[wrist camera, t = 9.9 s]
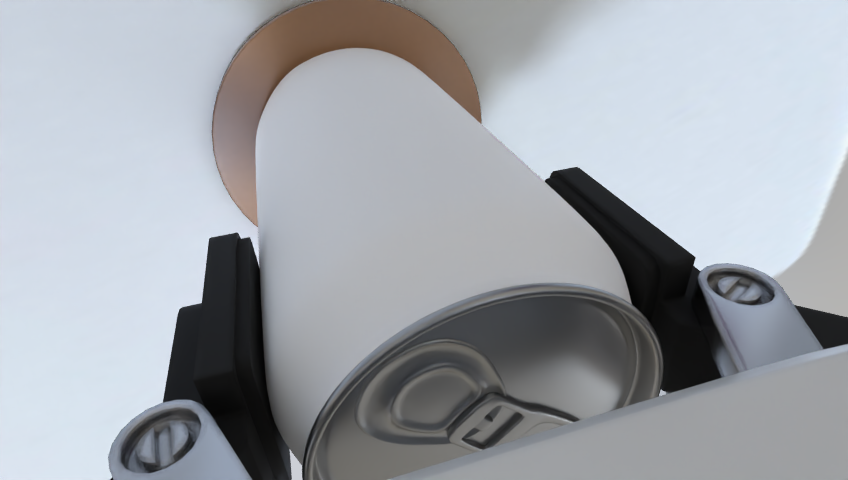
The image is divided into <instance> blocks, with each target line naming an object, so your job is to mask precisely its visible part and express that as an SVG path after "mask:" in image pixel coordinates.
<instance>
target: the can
mask: <svg viewBox="0 0 848 480" xmlns="http://www.w3.org/2000/svg"><path fill="white" fill-rule="evenodd" d="M255 155H256V191H257V217H258V242H259V266H260V288H261V309H262V329H263V347H264V362H265V374H266V385H267V392H268V397H269V403H270V408H271V412H272V415H273V418H274V421H275V424H276V426H277V428H278V430H279V432H280V434H281V436H282V438H283V439H284V441H285V443H286V444H287V446H288V447H289V449H290V450H291V451H292V453H293V454H294V456H295V457H296V458H297V459H298V461H299V462H300V463H301V465H302V478H303V480H387V479H391V478H394V477H397V476H400V475H403V474H407V473H410V472H413V471H416V470H420V469H423V468H426V467H429V466H432V465H436V464H439V463H442V462H445V461H449V460H452V459H455V458H458V457H462V456H465V455H468V454H471V453H474V452H478V451H481V450H484V449H487V448H491V447H494V446H497V445H500V444H504V443H507V442H510V441H514V440H517V439H520V438H523V437H527V436H530V435H533V434H537V433H540V432H543V431H546V430H550V429H553V428H556V427H560V426H563V425H566V424H569V423H573V422H576V421H579V420H583V419H586V418H589V417H593V416H596V415H599V414H602V413H606V412H609V411H612V410H616V409H619V408H622V407H626V406H629V405H632V404H636V403H639V402H642V401H646V400H649V399H652V398H656V397H659V393H660V390H661V386H662V380H663V372H664V360H663V352H662V348H661V344H660V341H659V338H658V336H657V334H656V332H655V330H654V328H653V326H652V325H651V323H650V322H649V321H648V319H647V318H646V317H645V316H644V315H643V314H642V313H641V312H640V311H639V310H638V309H637V308H635V307H634V306H633V305H632V303H631V299H630V294H629V290H628V287H627V284H626V280H625V277H624V274H623V272H622V269H621V267H620V265H619V262H618V260H617V258H616V257H615V255H614V253H613V252H612V250H611V249H610V247H609V246H608V245H607V244H606V242H605V241H604V240H603V239H602V237H601V236H600V235H599V234H598V233H597V231H596V230H595V229H594V228H593V227H592V226H591V225H590V224H589V223H588V222H587V221H586V220H585V219H584V218H583V217H582V216H581V215H580V214H579V213H578V212H577V211H576V210H575V209H573V208H572V207H571V206H570V205H569V204H568V203H567V202H566V201H565V200H564V199H563V198H562V197H561V196H560V195H558V194H557V193H556V192H555V191H554V190H553V189H552V188H551V187H550V186H549V185H548V184H547V183H546V182H544V181H543V180H542V179H541V178H540V177H539V176H538V175H537V174H536V173H535V172H533V171H532V170H531V169H530V168H529V167H528V166H527V165H526V164H525V163H524V162H523V161H521V160H520V159H519V158H518V157H517V156H516V155H515V154H514V153H513V152H512V151H510V150H509V149H508V148H507V147H506V146H505V145H504V144H503V143H502V142H501V141H499V140H498V139H497V138H496V137H495V136H494V135H493V134H492V133H491V132H489V131H488V130H487V129H486V128H485V127H484V126H483V125H482V124H481V123H480V122H478V121H477V120H476V119H475V118H474V117H473V116H472V115H471V114H469V113H468V112H467V111H466V110H465V109H464V108H463V107H462V106H461V105H459V104H458V103H457V102H456V101H455V100H454V99H453V98H452V97H450V96H449V95H448V94H447V93H446V92H445V91H444V90H443V89H441V88H440V87H439V86H438V85H437V84H436V83H435V82H433V81H432V80H431V79H430V78H429V77H428V76H427V75H425V74H424V73H423V72H422V71H420V70H419V69H418V68H416V67H415V66H414V65H412V64H411V63H409V62H407V61H406V60H404V59H402V58H400V57H398V56H395V55H393V54H390V53H387V52H384V51H380V50H375V49H368V48H346V49H339V50H334V51H330V52H327V53H324V54H321V55H318V56H316V57H314V58H311V59H309V60H307V61H305V62H303V63H302V64H300V65H298V66H297V67H295V68H294V69H293V70H291V71H290V72H289V73H288V74H287V75H286V76H285V77H284V78H283V79H282V80H281V82H280V83H279V84H278V85H277V87H276V88H275V90H274V91H273V93H272V94H271V96H270V98H269V100H268V102H267V104H266V106H265V108H264V110H263V113H262V115H261V118H260V121H259V125H258V129H257V135H256V151H255Z"/></svg>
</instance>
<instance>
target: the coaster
mask: <svg viewBox="0 0 848 480" xmlns="http://www.w3.org/2000/svg"><path fill="white" fill-rule="evenodd" d="M346 48H368V49H375V50H380V51H384V52H387V53H390V54H393V55H395V56H398V57H400V58H402V59H404V60H406V61H407V62H409V63H411V64H412V65H414V66H415V67H416V68H418V69H419V70H420V71H422V72H423V73H424V74H425V75H427V76H428V77H429V78H430V79H431V80H432V81H433V82H435V83H436V84H437V85H438V86H439V87H440V88H441V89H443V90H444V91H445V92H446V93H447V94H448V95H449V96H450V97H452V98H453V99H454V100H455V101H456V102H457V103H458V104H459V105H461V106H462V107H463V108H464V109H465V110H466V111H467V112H468V113H469V114H471V115H472V116H473V117H474V118H475V119H476V120H477V121H478V122H480V123H481V109H480V103H479V98H478V93H477V89H476V86H475V83H474V80H473V77H472V75H471V73H470V71H469V69H468V67H467V65H466V63H465V61H464V59H463V58H462V56H461V55H460V54H459V52H458V51H457V49H456V48H455V46H454V45H453V44H452V43H451V42H450V41H449V40H448V39H447V38H446V37H445V35H444V34H443V33H442V32H440V31H439V30H438V29H437V28H435V27H434V26H433V25H432V24H431V23H429V22H428V21H426V20H425V19H423V18H421V17H420V16H418V15H416V14H415V13H413V12H411V11H410V10H407V9H405V8H403V7H400V6H398V5H395V4H393V3H390V2H386V1H382V0H315V1H312V2H309V3H306V4H303V5H300V6H297V7H294V8H292V9H290V10H288V11H286V12H284V13H282V14H280V15H279V16H277V17H275V18H274V19H272V20H271V21H270V22H268V23H267V24H265V25H264V26H263V27H261V28H260V29H259V30H258V31H257V32H256V33H255V34H254V35H253V36H252V37H251V38H249V39H248V40H247V41H246V42H245V44H244V45H243V46H242V48H241V49H240V50H239V51H238V53H237V54H236V55H235V57H234V58H233V60H232V62H231V63H230V65H229V67H228V69H227V71H226V72H225V74H224V77H223V79H222V82H221V84H220V87H219V90H218V92H217V97H216V102H215V106H214V111H213V122H212V141H213V151H214V156H215V160H216V164H217V168H218V171H219V173H220V176H221V179H222V181H223V184H224V185H225V187H226V189H227V191H228V193H229V194H230V196H231V198H232V200H233V201H234V202H235V203H236V205H237V206H238V207H239V209H240V210H241V211H242V213H243V214H244V215H245V216H246V217H247V218H248V219H249V220H250V221H251V222H252V223H253V224H254V225H256V226H257V227H258V217H257V191H256V155H255V151H256V135H257V129H258V125H259V121H260V118H261V115H262V113H263V110H264V108H265V106H266V104H267V102H268V100H269V98H270V96H271V94H272V93H273V91H274V90H275V88H276V87H277V85H278V84H279V83H280V82H281V80H282V79H283V78H284V77H285V76H286V75H287V74H288V73H289V72H290V71H291V70H293V69H294V68H295V67H297V66H298V65H300V64H302V63H303V62H305V61H307V60H309V59H311V58H314V57H316V56H318V55H321V54H324V53H327V52H330V51H334V50H339V49H346Z"/></svg>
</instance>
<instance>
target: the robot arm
mask: <svg viewBox="0 0 848 480" xmlns="http://www.w3.org/2000/svg"><path fill="white" fill-rule="evenodd" d="M545 182H546V183H547V184H548V185H549V186H550V187H551V188H552V189H553V190H554V191H555V192H556V193H557V194H558V195H560V196H561V197H562V198H563V199H564V200H565V201H566V202H567V203H568V204H569V205H570V206H571V207H572V208H573V209H575V210H576V211H577V212H578V213H579V214H580V215H581V216H582V217H583V218H584V219H585V220H586V221H587V222H588V223H589V224H590V225H591V226H592V227H593V228H594V229H595V230H596V231H597V233H598V234H599V235H600V236H601V237H602V239H603V240H604V241H605V242H606V244H607V245H608V246H609V247H610V249H611V250H612V252H613V253H614V255H615V257H616V258H617V260H618V262H619V265H620V267H621V269H622V272H623V274H624V277H625V280H626V284H627V287H628V290H629V294H630V299H631V303H632V305H633V306H634V307H635V308H637V309H638V310H639V311H640V312H641V313H642V314H643V315H644V316H645V317H646V318H647V319H648V321H649V322H650V323H651V325H652V326H653V328H654V330H655V332H656V334H657V336H658V338H659V341H660V344H661V348H662V352H663V360H664V372H663V380H662V386H661V389H662V390H663V391H666V395H662V396H659V397H656V398H652V399H649V400H646V401H642V402H639V403H636V404H632V405H629V406H626V407H622V408H619V409H616V410H612V411H609V412H606V413H602V414H599V415H596V416H593V417H589V418H586V419H583V420H579V421H576V422H573V423H569V424H566V425H563V426H560V427H556V428H553V429H550V430H546V431H543V432H540V433H537V434H533V435H530V436H527V437H523V438H520V439H517V440H514V441H510V442H507V443H504V444H500V445H497V446H494V447H491V448H487V449H484V450H481V451H478V452H474V453H471V454H468V455H465V456H462V457H458V458H455V459H452V460H449V461H445V462H442V463H439V464H436V465H432V466H429V467H426V468H423V469H420V470H416V471H413V472H410V473H407V474H403V475H400V476H397V477H394V478H391V479H387V480H848V317H843V316H839V315H835V314H830V313H826V312H822V311H817V310H813V309H809V308H805V307H800V306H796V305H794V304H793V303H792V301H791V300H790V298H789V297H788V296H787V294H786V293H785V291H784V290H783V288H782V287H781V286H780V285H779V284H778V283H777V282H776V281H775V280H774V279H773V278H771V277H770V276H768V275H767V274H765V273H763V272H761V271H758V270H756V269H754V268H750V267H746V266H743V265H738V264H729V263H725V264H714V265H711V266H707V267H706V268H704V269H703V270H701V271H699V270H698V269H697V268H695V267H694V266H693V265H694V261H695V257H694V256H693V255H692V254H690V253H689V252H688V251H687V250H685V249H684V248H683V247H681V246H680V245H679V244H677V243H676V242H675V241H674V240H672V239H671V238H670V237H668V236H667V235H666V234H664V233H663V232H662V231H661V230H659V229H658V228H657V227H655V226H654V225H653V224H651V223H650V222H649V221H648V220H646V219H645V218H644V217H642V216H641V215H640V214H638V213H637V212H636V211H634V210H633V209H632V208H631V207H629V206H628V205H627V204H625V203H624V202H623V201H621V200H620V199H619V198H618V197H616V196H615V195H614V194H612V193H611V192H610V191H608V190H607V189H606V188H605V187H603V186H602V185H601V184H599V183H598V182H597V181H595V180H594V179H593V178H592V177H590V176H589V175H588V174H586V173H585V172H584V171H582V170H581V169H580V168H578V167H574V168H568V169H563V170H558V171H553V172H552V173H551V175H550V178H549V179H546V180H545ZM108 460H109V469H110V472H111V474H112V478H111V479H110V480H291V479H292V477H291V463H290V451H289V447H288V446H287V444H286V443H285V441H284V439H283V438H282V436H281V434H280V432H279V430H278V428H277V426H276V424H275V421H274V418H273V415H272V412H271V408H270V403H269V397H268V392H267V385H266V374H265V362H264V347H263V329H262V309H261V288H260V269H259V265H258V262H257V258H256V255H255V252H254V248H253V245H252V242H251V239H250V237H248V238H243V239H241V238H240V236H239V234H238V233H233V234H228V235H223V236H218V237H212V238H210V239H209V245H208V254H207V263H206V272H205V280H204V289H203V298H202V303H200V304H196V305H191V306H186V307H182V308H181V309H180V310H179V313H178V317H177V323H176V329H175V335H174V340H173V346H172V352H171V358H170V364H169V370H168V376H167V382H166V387H165V393H164V399H163V403H161V404H158V405H156V406H154V407H152V408H149V409H147V410H145V411H144V412H142V413H141V414H139V415H138V416H136V417H135V418H133V419H132V420H131V421H130V422H129V423H128V424H127V425H126V426H125V427H124V428H123V429H122V430H121V431H120V433H119V434H118V436H117V437H116V439H115V440H114V442H113V443H112V446H111V449H110V453H109V456H108Z"/></svg>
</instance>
